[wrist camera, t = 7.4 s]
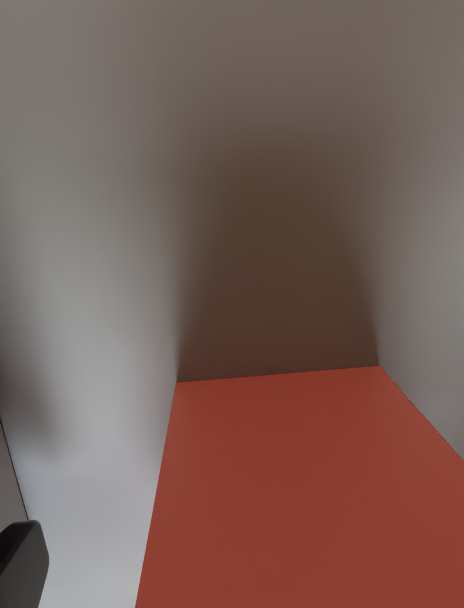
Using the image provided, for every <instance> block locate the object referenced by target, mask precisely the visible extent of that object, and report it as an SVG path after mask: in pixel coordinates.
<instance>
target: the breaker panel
mask: <svg viewBox="0 0 464 608" xmlns="http://www.w3.org/2000/svg"><path fill="white" fill-rule="evenodd" d="M17 521H27V516H26V513H25V509H24V506H23V502H22V498H21V495H20V491H19V488H18V484H17V480H16V477H15V473H14V470H13V466H12V463H11V459H10V455H9V452H8V448H7V445H6V441H5V437H4V434H3V430H2V427H1V423H0V532H1V531H3V530H4V529H5V528H6V527H7V526H9V525H10V524H11V523H13V522H17Z"/></svg>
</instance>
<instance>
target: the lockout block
mask: <svg viewBox="0 0 464 608" xmlns="http://www.w3.org/2000/svg"><path fill="white" fill-rule="evenodd" d="M135 608H464V461H463V460H462V458H461V457H460V456H459V455H458V454H457V453H456V452H455V451H454V449H453V448H452V447H451V446H450V445H449V444H448V443H447V442H446V440H445V439H444V438H443V437H442V436H441V435H440V434H439V433H438V431H437V430H436V429H435V428H434V427H433V426H432V425H431V424H430V422H429V421H428V420H427V419H426V418H425V417H424V416H423V415H422V413H421V412H420V411H419V410H418V409H417V408H416V407H415V406H414V404H413V403H412V402H411V401H410V400H409V399H408V398H407V397H406V395H405V394H404V393H403V392H402V391H401V390H400V389H399V388H398V386H397V385H396V384H395V383H394V382H393V381H392V380H391V379H390V378H389V376H388V375H387V374H386V373H385V372H384V371H383V370H382V369H381V367H380V366H369V367H357V368H345V369H333V370H321V371H309V372H297V373H285V374H273V375H261V376H250V377H238V378H226V379H214V380H202V381H190V382H178V383H176V387H175V392H174V398H173V403H172V409H171V414H170V420H169V425H168V431H167V436H166V442H165V447H164V453H163V458H162V463H161V469H160V474H159V480H158V485H157V491H156V496H155V502H154V507H153V513H152V518H151V524H150V529H149V534H148V540H147V545H146V551H145V556H144V562H143V567H142V573H141V578H140V584H139V589H138V594H137V600H136V605H135Z"/></svg>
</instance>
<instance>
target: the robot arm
mask: <svg viewBox="0 0 464 608" xmlns="http://www.w3.org/2000/svg"><path fill="white" fill-rule="evenodd" d="M48 567H49V554H48V550H47V546H46V543H45V539H44V535H43V531H42V528H41V525H40V523H39V522H38V521H36V520H27V521H17V522H13V523H11V524H10V525H9V526H7V527H6V528H5V529H4V530H3V531H1V532H0V608H38V606H39V603H40V599H41V595H42V591H43V588H44V584H45V580H46V576H47V572H48Z"/></svg>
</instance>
